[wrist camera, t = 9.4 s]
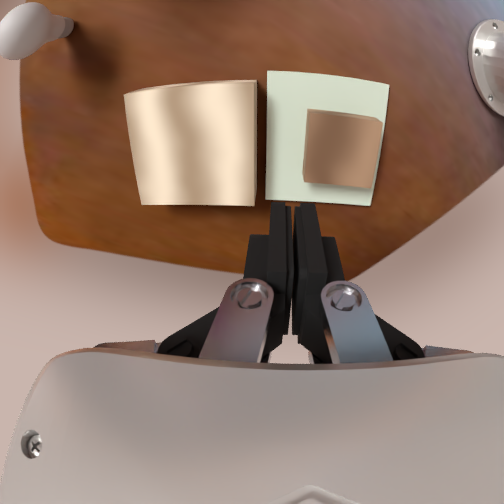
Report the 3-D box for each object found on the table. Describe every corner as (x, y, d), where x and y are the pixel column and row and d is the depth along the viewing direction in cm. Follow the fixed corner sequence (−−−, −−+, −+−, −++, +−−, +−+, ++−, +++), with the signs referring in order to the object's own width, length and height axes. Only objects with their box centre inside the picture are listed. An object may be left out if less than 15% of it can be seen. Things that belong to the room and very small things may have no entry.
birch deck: (256, 80, 24) (254, 83, 21) (256, 188, 32) (254, 206, 28) (141, 88, 25) (123, 94, 22) (154, 188, 32) (141, 204, 29)
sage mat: (387, 84, 23) (389, 84, 22) (368, 203, 31) (370, 205, 31) (267, 70, 24) (267, 70, 23) (265, 196, 32) (265, 199, 32)
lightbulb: (78, 55, 22) (9, 69, 13) (45, 46, 20) (-22, 61, 12) (98, 8, 18) (30, 4, 10) (62, 2, 17) (-5, 2, 8)
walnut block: (309, 112, 23) (307, 108, 25) (303, 182, 28) (302, 173, 29) (383, 122, 23) (375, 117, 25) (371, 188, 27) (365, 178, 29)
